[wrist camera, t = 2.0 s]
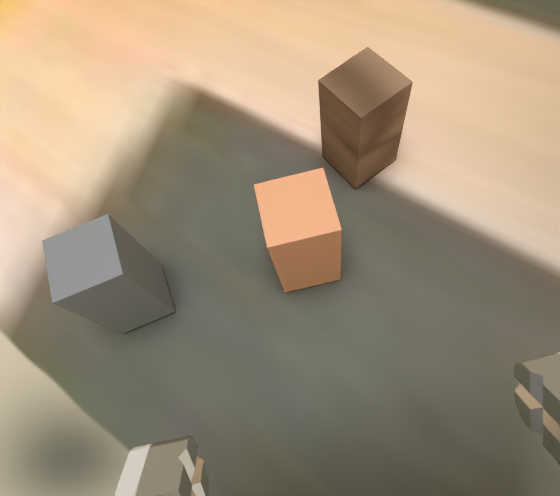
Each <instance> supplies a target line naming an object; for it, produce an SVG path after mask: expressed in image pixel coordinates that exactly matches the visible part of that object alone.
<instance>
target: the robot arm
mask: <svg viewBox="0 0 560 496" xmlns="http://www.w3.org/2000/svg"><path fill="white" fill-rule="evenodd" d="M514 377H515V378H516V379H517V380H518V381H519V382H520V384H519V385H518V387H517V388H516V390H515V402H516V405H517V408H518V411H519V414H520V415H521V417H522V419H523V421H524V422H525V424H526V425H527V426H528V427H529V429H530V430H531V431H533V432H536V433H538V434H540V435H542V436H543V446H544V447H545V448H546V449H547V450H548V452H549V453H550V454H551V455H552V456H553V458H554V459H555V460H556V461H557V462H558V464H559V465H560V352H559V353H556V354H552V355H547V356H543V357H539V358H534V359H530V360H526V361H522V362H517V363H516V364H515V367H514ZM197 451H198V446H197V443H196V441H195V439H194V437H192V436H187V437H182V438H177V439H172V440H167V441H162V442H157V443H153V444H149V445H144V446H139V447H134V448H133V449H132V450H131V451H130V452H129V454H128V457H127V460H126V463H125V466H124V469H123V472H122V475H121V478H120V480H119V483H118V486H117V489H116V492H115V495H114V496H208V495H209V484H208V475H207V470H206V466H205V464H204V461H203V460H202V459H200V458H199V457H197Z"/></svg>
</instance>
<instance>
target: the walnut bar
mask: <svg viewBox="0 0 560 496" xmlns="http://www.w3.org/2000/svg"><path fill="white" fill-rule="evenodd" d="M318 83H319V101H320V119H321V137H322V155H323V157H324V158H325V159H326V160H327V161H328V162H329V163H330V164H331V165H332V166H333V167H334V168H335V169H336V170H337V171H338V172H339V173H340V174H341V175H342V176H343V177H344V178H345V179H346V180H347V181H348V182H349V183H350V184H351V185H352V186H353V187H354V188H355V189H357V188H358V187H359V186H361V185H362V184H363V183H365V182H366V181H367V180H369V179H370V178H372V177H373V176H374V175H376V174H377V173H378V172H380V171H381V170H382V169H384V168H385V167H386V166H388V165H389V164H391V163H392V162H393V161H395V160H396V156H397V152H398V147H399V142H400V138H401V133H402V129H403V124H404V119H405V115H406V110H407V105H408V101H409V96H410V91H411V87H412V81H411V80H410V79H408V78H407V77H406V76H404V75H403V74H402V73H401V72H399V71H398V70H397V69H395V68H394V67H393V66H392V65H390V64H389V63H388V62H387V61H385V60H384V59H383V58H381V57H380V56H379V55H378V54H376V53H375V52H374V51H372V50H371V49H370V48H369V47H367V48H365V49H364V50H362V51H361V52H359V53H358V54H356V55H355V56H353V57H352V58H350V59H349V60H347V61H346V62H344V63H343V64H342V65H340V66H339V67H337V68H336V69H334V70H333V71H331V72H330V73H328V74H327V75H325V76H324V77H322V78H321V79H319V80H318Z"/></svg>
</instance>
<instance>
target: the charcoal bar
mask: <svg viewBox="0 0 560 496" xmlns="http://www.w3.org/2000/svg"><path fill="white" fill-rule="evenodd" d="M42 242H43V248H44V254H45V260H46V266H47V273H48V279H49V285H50V291H51V297H52V303H53V304H56V305H58V306H60V307H62V308H65V309H67V310H69V311H71V312H74V313H76V314H78V315H80V316H83V317H85V318H87V319H89V320H92V321H94V322H96V323H98V324H101V325H103V326H105V327H107V328H110V329H112V330H114V331H117V332H119V333H121V334H124V333H126V332H128V331H131V330H133V329H136V328H138V327H140V326H143V325H145V324H148V323H150V322H152V321H155V320H157V319H160V318H162V317H164V316H167V315H169V314H171V313H174V312H175V310H174V306H173V303H172V299H171V296H170V293H169V289H168V286H167V282H166V279H165V276H164V272H163V269H162V265H161V263H160V262H158V261H157V260H156V259H155V258H154V257H153V256H152V255H151V254H150V253H149V252H148V251H147V250H146V249H145V248H144V247H143V246H141V245H140V244H139V243H138V242H137V241H136V240H135V239H134V238H133V237H132V236H131V235H130V234H129V233H128V232H127V231H125V230H124V229H123V228H122V227H121V226H120V225H119V224H118V223H117V222H116V221H115V220H114V219H113V218H112V217H111V216H110V215H108V214H107V215H105V216H102V217H100V218H97V219H95V220H92V221H90V222H87V223H85V224H82V225H80V226H78V227H75V228H73V229H70V230H68V231H65V232H63V233H60V234H58V235H55V236H53V237H50V238H48V239H46V240H43V241H42Z"/></svg>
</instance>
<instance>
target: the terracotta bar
mask: <svg viewBox="0 0 560 496" xmlns="http://www.w3.org/2000/svg"><path fill="white" fill-rule="evenodd" d="M254 187H255V192H256V197H257V201H258V206H259V211H260V216H261V220H262V225H263V230H264V235H265V239H266V244H267V248H268V251H269V253H270V256H271V259H272V261H273V264H274V266H275V269H276V272H277V274H278V277H279V279H280V282H281V284H282V287H283V290H284V292H285V293H286V292H290V291H294V290H298V289H303V288H307V287H311V286H315V285H319V284H324V283H328V282H332V281H336V280H341V237H342V229H341V226H340V223H339V219H338V216H337V213H336V209H335V206H334V203H333V199H332V196H331V192H330V189H329V186H328V182H327V179H326V176H325V172H324V169H323V168H320V169H316V170H312V171H307V172H303V173H299V174H295V175H291V176H287V177H283V178H279V179H275V180H271V181H267V182H263V183H259V184H255V185H254Z"/></svg>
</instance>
